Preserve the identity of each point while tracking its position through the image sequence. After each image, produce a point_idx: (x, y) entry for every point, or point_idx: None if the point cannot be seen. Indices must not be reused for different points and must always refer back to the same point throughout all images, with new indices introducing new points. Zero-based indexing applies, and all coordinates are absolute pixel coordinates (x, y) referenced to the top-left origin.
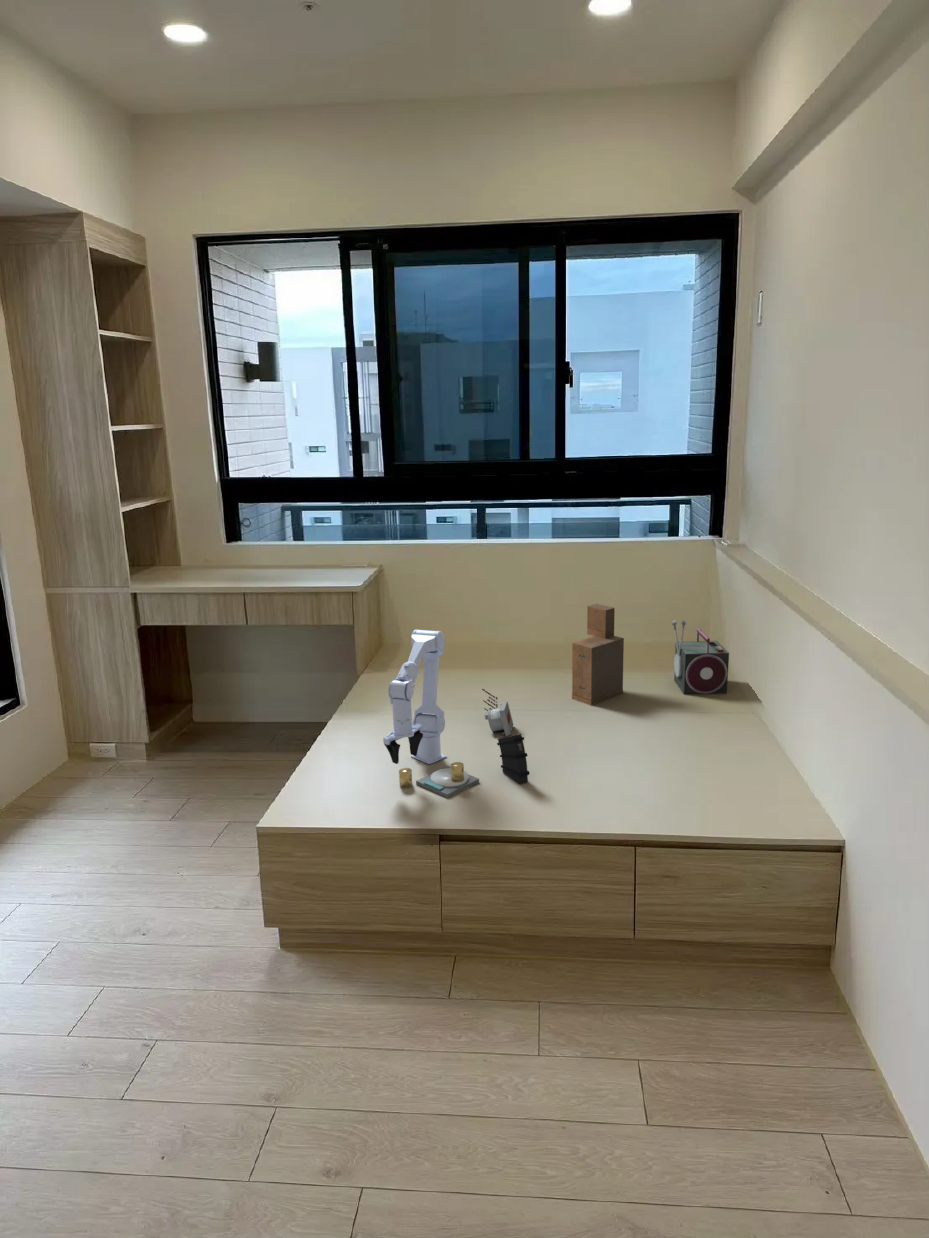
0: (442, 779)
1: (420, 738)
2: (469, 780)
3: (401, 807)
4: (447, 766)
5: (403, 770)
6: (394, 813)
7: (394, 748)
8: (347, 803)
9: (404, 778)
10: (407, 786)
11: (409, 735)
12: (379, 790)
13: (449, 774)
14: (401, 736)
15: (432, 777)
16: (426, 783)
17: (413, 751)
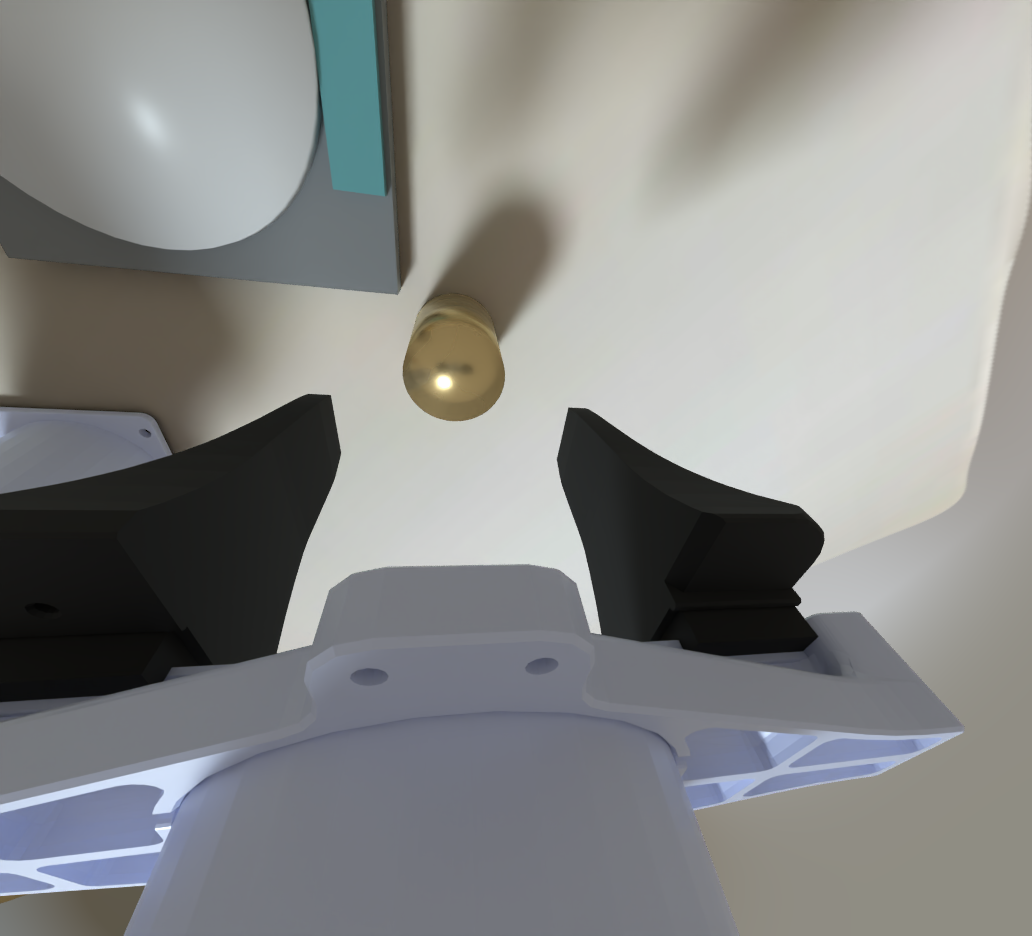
0: (204, 35)
1: (95, 490)
2: None
3: (732, 109)
4: (14, 254)
5: (461, 390)
6: (831, 86)
7: (790, 507)
8: (758, 428)
9: (493, 335)
10: (477, 303)
11: (578, 637)
12: (587, 408)
13: (62, 47)
14: (713, 695)
15: (273, 184)
16: (383, 158)
17: (321, 440)
